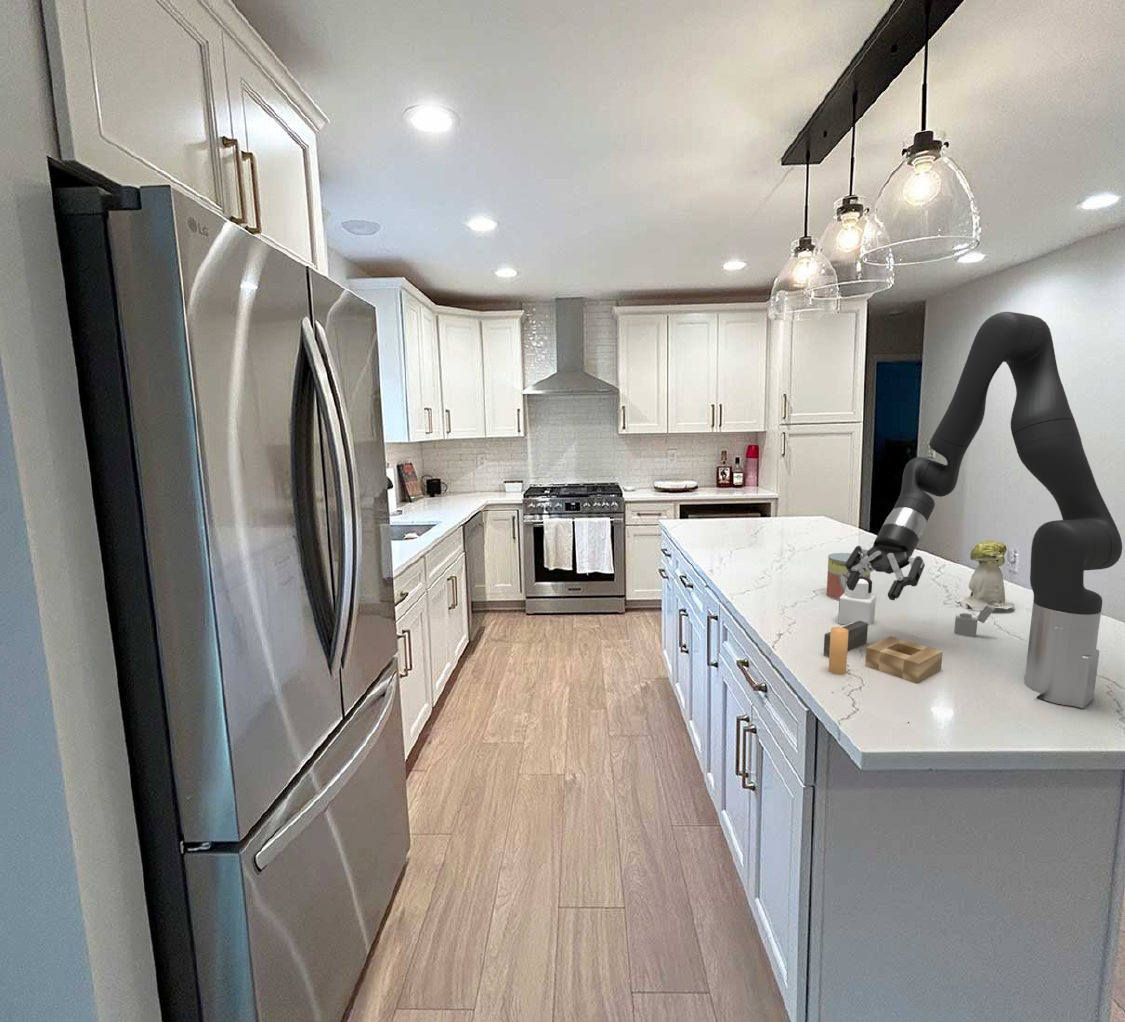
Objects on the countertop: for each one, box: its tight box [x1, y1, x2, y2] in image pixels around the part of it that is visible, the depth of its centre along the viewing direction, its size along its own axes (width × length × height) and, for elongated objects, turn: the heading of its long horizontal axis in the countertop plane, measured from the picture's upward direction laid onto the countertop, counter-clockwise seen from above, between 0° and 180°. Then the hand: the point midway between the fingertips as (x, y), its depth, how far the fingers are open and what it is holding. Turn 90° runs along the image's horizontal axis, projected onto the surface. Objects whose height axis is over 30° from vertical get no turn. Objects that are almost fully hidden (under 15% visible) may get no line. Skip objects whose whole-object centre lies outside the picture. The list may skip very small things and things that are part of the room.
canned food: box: [825, 552, 871, 602], centre depth 163 cm, size 11×11×12 cm
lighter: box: [953, 604, 995, 638], centre depth 132 cm, size 7×2×8 cm, turn 59°
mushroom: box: [955, 540, 1016, 612], centre depth 151 cm, size 12×13×18 cm
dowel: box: [828, 626, 848, 676], centre depth 112 cm, size 3×3×10 cm
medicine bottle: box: [837, 576, 877, 626], centre depth 141 cm, size 7×7×12 cm
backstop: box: [823, 621, 869, 658], centre depth 116 cm, size 20×14×6 cm
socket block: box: [865, 636, 944, 684], centre depth 113 cm, size 10×10×4 cm
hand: (869, 593), depth 117 cm, fingers open, 8 cm apart
